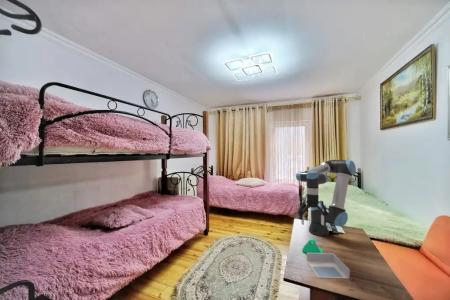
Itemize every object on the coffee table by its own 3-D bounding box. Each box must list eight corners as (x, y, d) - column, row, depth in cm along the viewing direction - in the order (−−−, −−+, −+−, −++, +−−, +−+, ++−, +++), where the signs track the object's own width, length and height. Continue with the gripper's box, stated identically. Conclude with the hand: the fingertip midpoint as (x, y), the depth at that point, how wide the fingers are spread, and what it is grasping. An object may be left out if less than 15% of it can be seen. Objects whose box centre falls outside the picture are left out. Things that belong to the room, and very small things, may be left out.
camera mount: (323, 253, 133) (323, 238, 133) (321, 258, 127) (321, 242, 127) (304, 248, 140) (304, 234, 140) (302, 252, 134) (302, 238, 134)
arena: (306, 260, 124) (306, 252, 124) (333, 261, 123) (333, 253, 123) (318, 277, 107) (318, 268, 107) (349, 278, 106) (349, 269, 106)
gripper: (296, 194, 131) (296, 226, 130) (333, 195, 130) (333, 226, 129) (292, 192, 138) (292, 222, 138) (328, 192, 137) (328, 222, 137)
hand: (312, 224), depth 134 cm, fingers open, 13 cm apart
